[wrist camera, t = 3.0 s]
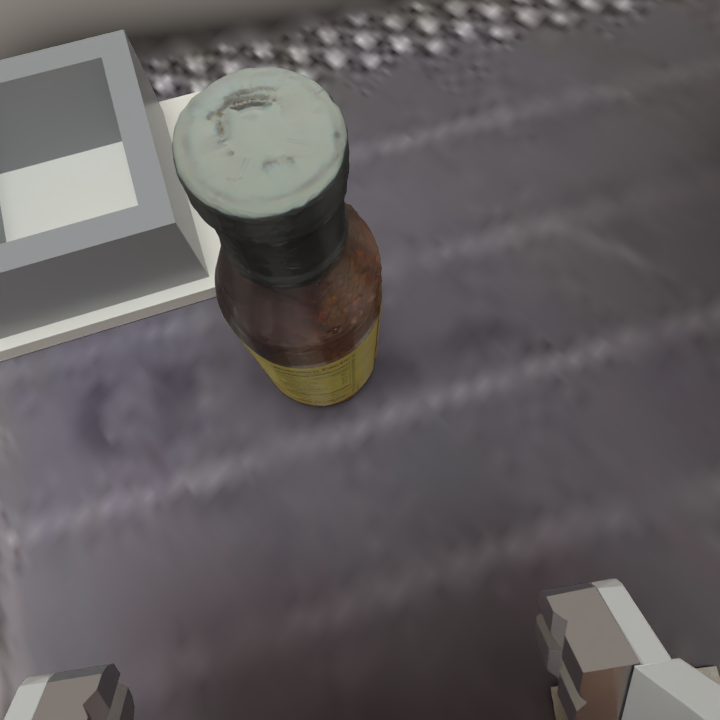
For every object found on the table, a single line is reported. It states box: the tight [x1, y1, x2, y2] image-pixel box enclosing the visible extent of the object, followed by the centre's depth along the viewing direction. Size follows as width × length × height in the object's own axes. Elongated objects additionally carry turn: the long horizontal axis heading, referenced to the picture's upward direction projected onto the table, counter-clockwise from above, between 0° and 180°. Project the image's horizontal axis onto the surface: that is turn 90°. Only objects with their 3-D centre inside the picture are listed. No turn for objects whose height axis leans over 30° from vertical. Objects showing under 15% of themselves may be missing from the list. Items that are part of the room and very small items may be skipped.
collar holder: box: [0, 30, 221, 362], centre depth 30 cm, size 18×14×7 cm
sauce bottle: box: [172, 67, 382, 406], centre depth 21 cm, size 6×6×20 cm
